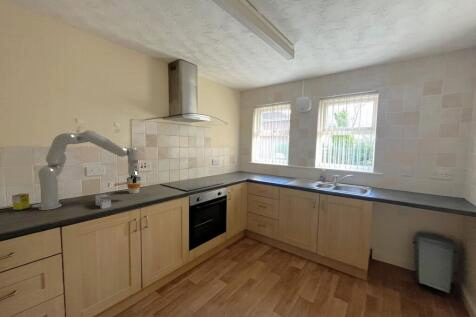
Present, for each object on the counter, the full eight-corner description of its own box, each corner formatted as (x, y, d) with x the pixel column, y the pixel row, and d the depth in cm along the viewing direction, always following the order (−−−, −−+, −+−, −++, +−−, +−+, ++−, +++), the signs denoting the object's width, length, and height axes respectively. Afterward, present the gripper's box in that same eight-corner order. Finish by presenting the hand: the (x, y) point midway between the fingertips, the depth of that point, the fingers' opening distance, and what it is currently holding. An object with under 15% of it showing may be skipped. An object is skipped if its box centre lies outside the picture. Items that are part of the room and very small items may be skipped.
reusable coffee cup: (136, 190, 207) (136, 176, 205) (143, 191, 200) (143, 177, 199) (124, 192, 196) (123, 177, 195) (131, 194, 189) (131, 179, 188)
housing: (102, 208, 148) (101, 198, 147) (95, 204, 156) (95, 194, 156) (111, 206, 153) (110, 196, 152) (104, 203, 161) (104, 193, 161)
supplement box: (29, 207, 146) (29, 193, 145) (21, 210, 140) (20, 195, 140) (21, 207, 146) (20, 193, 145) (12, 210, 140) (11, 195, 139)
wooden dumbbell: (109, 187, 155) (109, 182, 155) (107, 186, 158) (107, 181, 158) (138, 183, 173) (138, 178, 172) (135, 182, 175) (135, 178, 175)
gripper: (141, 162, 168) (142, 183, 169) (132, 161, 178) (133, 180, 180) (132, 163, 162) (133, 184, 163) (124, 161, 172) (124, 182, 174)
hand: (133, 182), depth 171 cm, fingers closed on wooden dumbbell, 4 cm apart
